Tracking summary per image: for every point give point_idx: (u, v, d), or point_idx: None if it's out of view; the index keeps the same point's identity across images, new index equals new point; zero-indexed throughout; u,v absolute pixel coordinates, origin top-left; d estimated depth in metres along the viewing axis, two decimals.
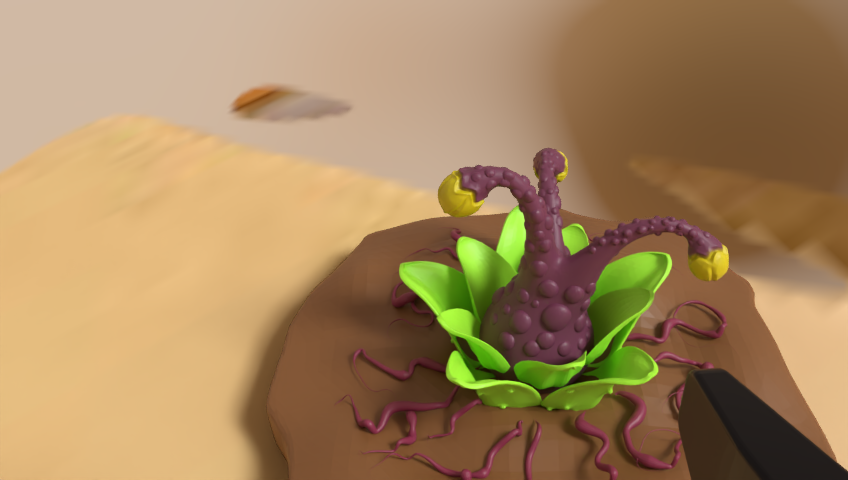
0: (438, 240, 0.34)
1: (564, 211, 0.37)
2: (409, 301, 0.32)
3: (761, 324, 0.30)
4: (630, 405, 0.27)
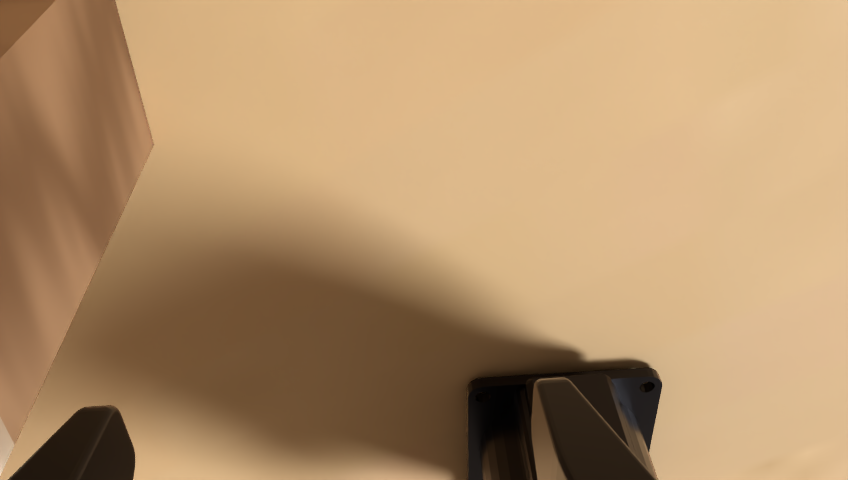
0: None
1: None
2: None
3: None
4: None
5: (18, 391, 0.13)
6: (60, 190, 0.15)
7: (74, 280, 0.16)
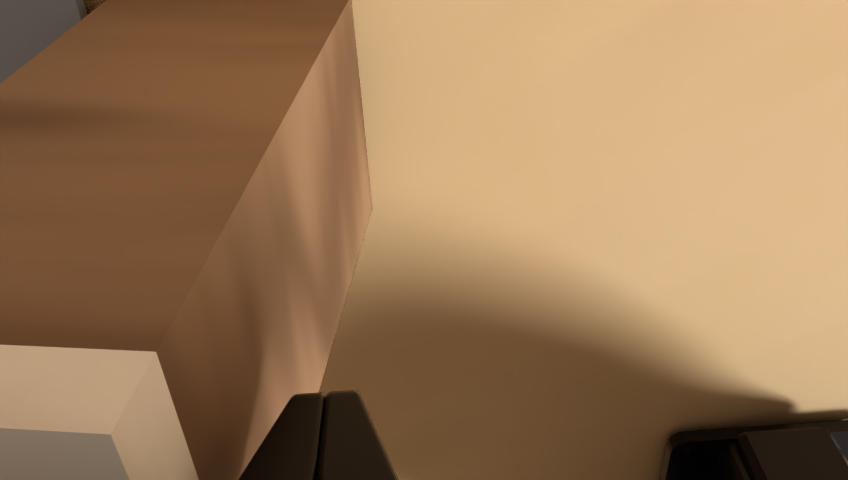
0: None
1: None
2: None
3: None
4: None
5: None
6: (304, 292, 0.13)
7: None
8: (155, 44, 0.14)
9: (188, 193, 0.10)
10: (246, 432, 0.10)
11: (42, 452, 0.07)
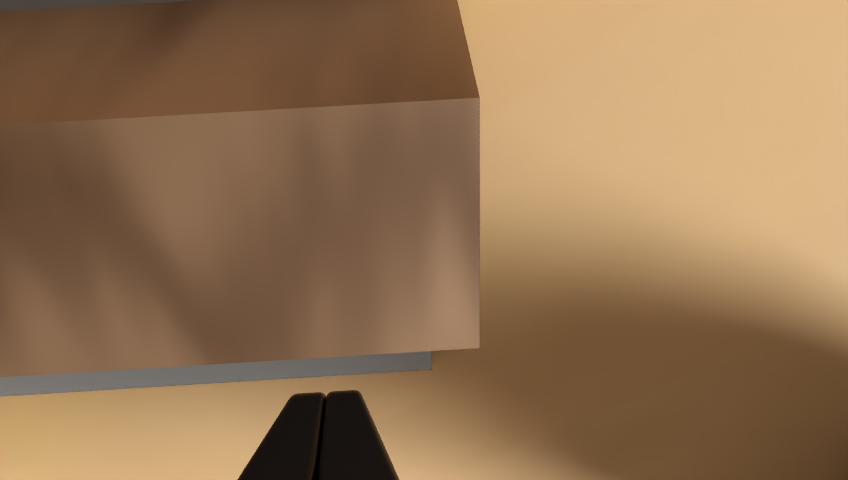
0: None
1: None
2: None
3: None
4: None
5: None
6: (140, 274, 0.13)
7: (124, 349, 0.14)
8: (323, 30, 0.14)
9: None
10: None
11: None
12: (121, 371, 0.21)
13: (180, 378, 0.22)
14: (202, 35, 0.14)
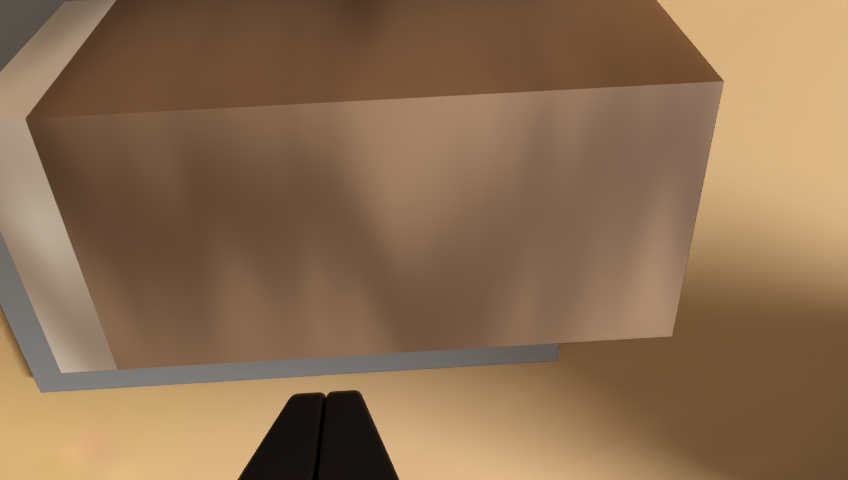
0: None
1: None
2: None
3: None
4: None
5: (147, 345, 0.14)
6: (350, 260, 0.13)
7: (319, 337, 0.14)
8: (523, 14, 0.14)
9: (226, 87, 0.12)
10: (159, 261, 0.13)
11: None
12: (247, 362, 0.21)
13: (305, 369, 0.21)
14: (400, 19, 0.14)
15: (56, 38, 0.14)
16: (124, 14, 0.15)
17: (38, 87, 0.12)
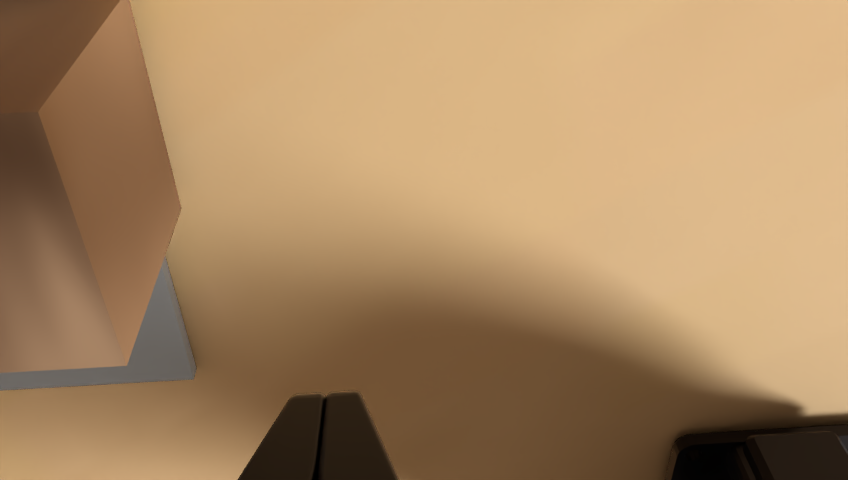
0: None
1: None
2: None
3: None
4: None
5: None
6: None
7: None
8: None
9: None
10: None
11: None
12: None
13: None
14: None
15: None
16: None
17: None
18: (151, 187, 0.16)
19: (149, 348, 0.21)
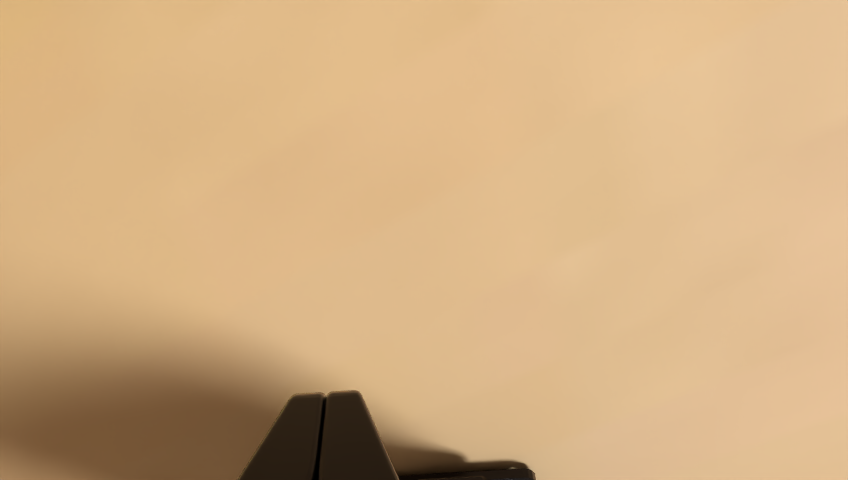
0: None
1: None
2: None
3: None
4: None
5: None
6: None
7: None
8: None
9: None
10: None
11: None
12: None
13: None
14: None
15: None
16: None
17: None
18: None
19: None
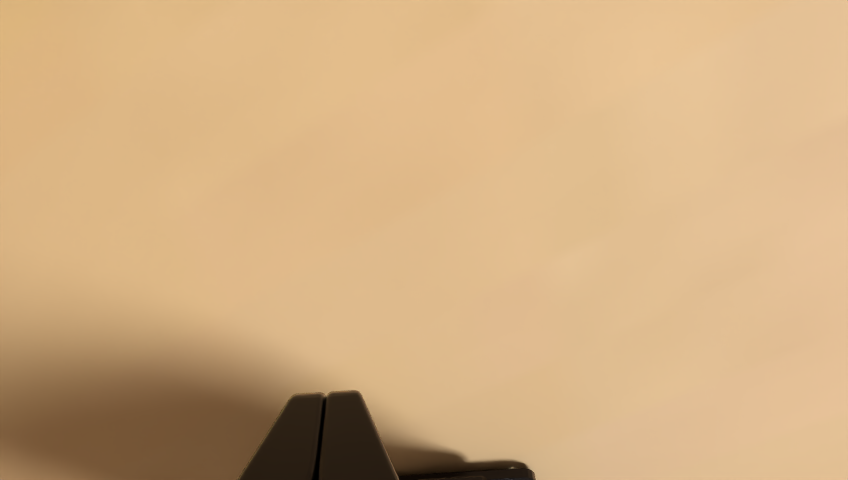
0: None
1: None
2: None
3: None
4: None
5: None
6: None
7: None
8: None
9: None
10: None
11: None
12: None
13: None
14: None
15: None
16: None
17: None
18: None
19: None
